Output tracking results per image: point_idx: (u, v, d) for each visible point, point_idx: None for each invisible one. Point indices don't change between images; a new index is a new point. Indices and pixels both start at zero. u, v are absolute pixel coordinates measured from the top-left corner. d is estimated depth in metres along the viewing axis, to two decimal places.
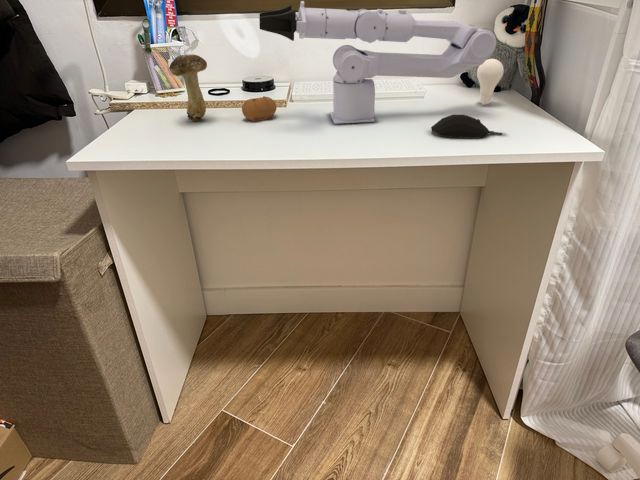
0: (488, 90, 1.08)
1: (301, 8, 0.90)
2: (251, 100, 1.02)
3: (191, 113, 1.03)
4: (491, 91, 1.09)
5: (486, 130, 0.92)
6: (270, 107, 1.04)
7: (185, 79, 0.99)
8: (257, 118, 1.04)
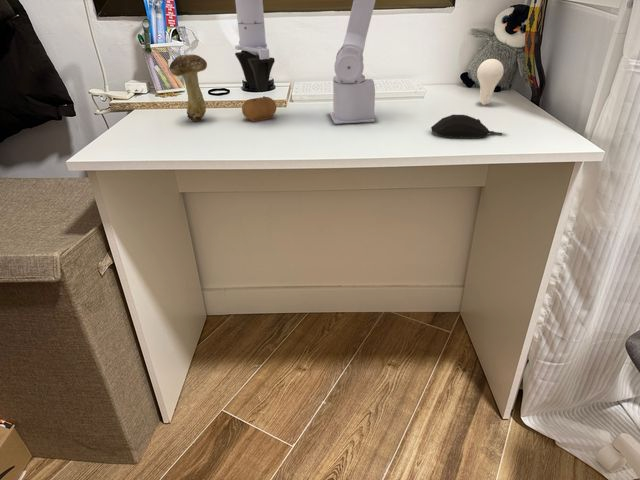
0: (488, 90, 1.08)
1: (243, 49, 0.95)
2: (251, 100, 1.02)
3: (191, 113, 1.03)
4: (491, 91, 1.09)
5: (486, 130, 0.92)
6: (270, 107, 1.04)
7: (185, 79, 0.99)
8: (257, 118, 1.04)
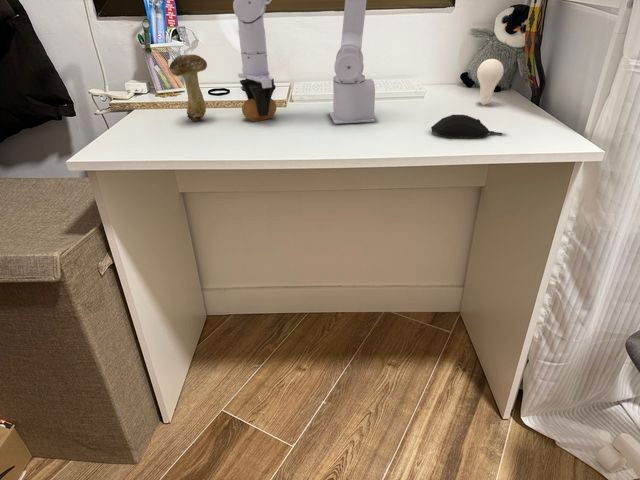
0: (488, 90, 1.08)
1: (246, 77, 0.99)
2: (251, 100, 1.02)
3: (191, 113, 1.03)
4: (491, 91, 1.09)
5: (486, 130, 0.92)
6: (270, 107, 1.04)
7: (185, 79, 0.99)
8: (257, 118, 1.04)
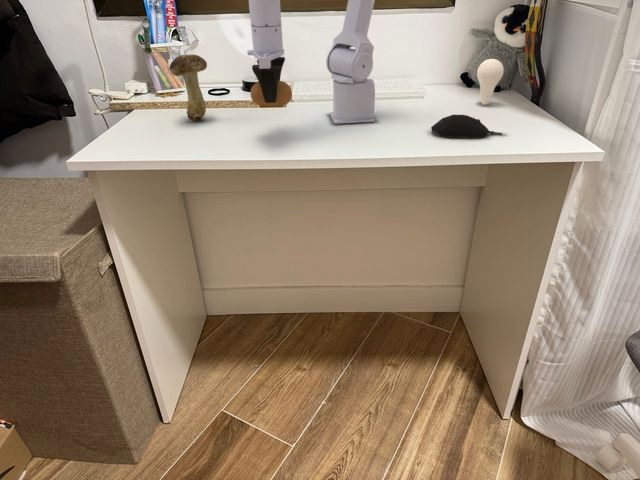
0: (488, 90, 1.08)
1: (253, 55, 0.84)
2: None
3: (191, 113, 1.03)
4: (491, 91, 1.09)
5: (486, 130, 0.92)
6: (280, 93, 0.87)
7: (185, 79, 0.99)
8: (265, 105, 0.89)
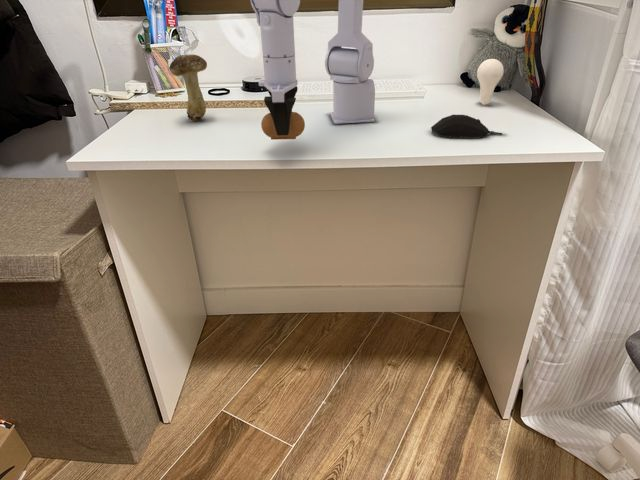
0: (488, 90, 1.08)
1: (265, 86, 0.79)
2: None
3: (191, 113, 1.03)
4: (491, 91, 1.09)
5: (486, 130, 0.92)
6: (293, 125, 0.82)
7: (185, 79, 0.99)
8: (276, 136, 0.84)
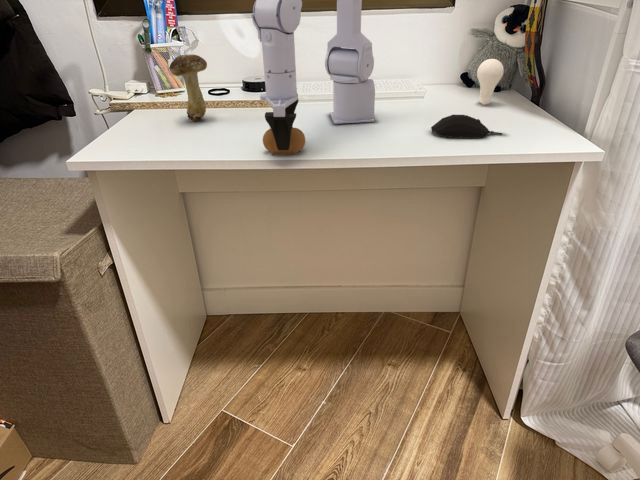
0: (488, 90, 1.08)
1: (266, 100, 0.81)
2: None
3: (191, 113, 1.03)
4: (491, 91, 1.09)
5: (486, 130, 0.92)
6: (294, 141, 0.84)
7: (185, 79, 0.99)
8: (277, 152, 0.86)
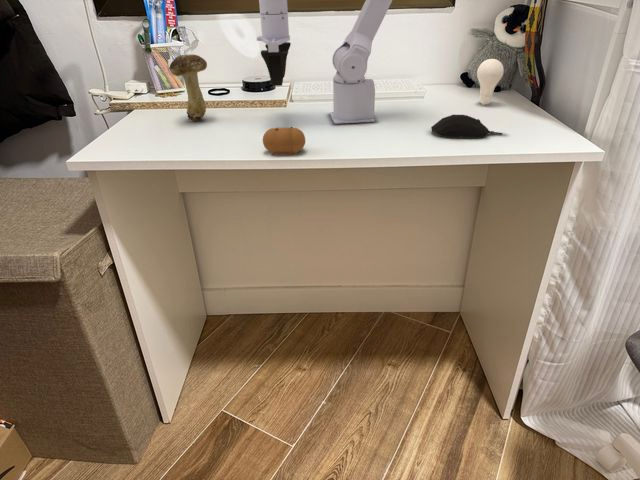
0: (488, 90, 1.08)
1: (262, 40, 0.92)
2: (273, 130, 0.84)
3: (191, 113, 1.03)
4: (491, 91, 1.09)
5: (486, 130, 0.92)
6: (294, 141, 0.84)
7: (185, 79, 0.99)
8: (277, 152, 0.86)
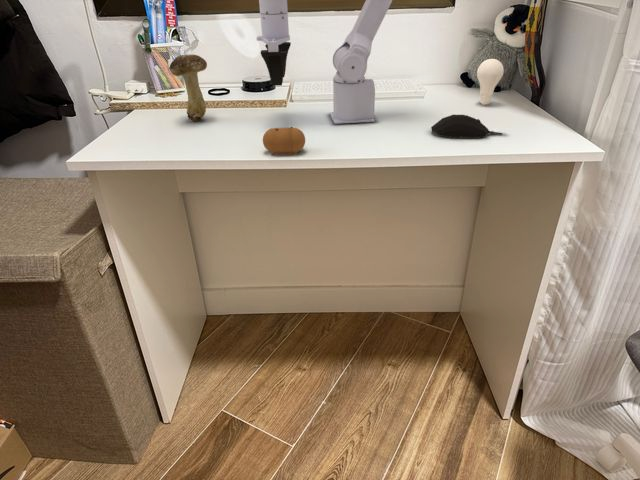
0: (488, 90, 1.08)
1: (262, 40, 0.92)
2: (273, 130, 0.84)
3: (191, 113, 1.03)
4: (491, 91, 1.09)
5: (486, 130, 0.92)
6: (294, 141, 0.84)
7: (185, 79, 0.99)
8: (277, 152, 0.86)
